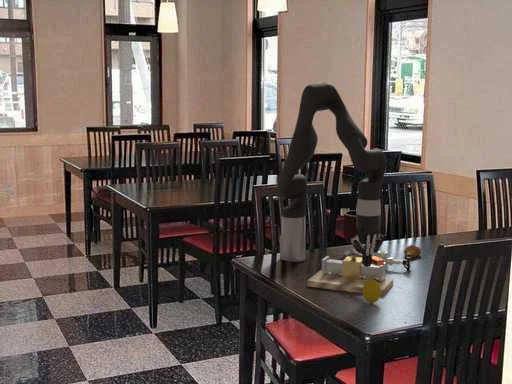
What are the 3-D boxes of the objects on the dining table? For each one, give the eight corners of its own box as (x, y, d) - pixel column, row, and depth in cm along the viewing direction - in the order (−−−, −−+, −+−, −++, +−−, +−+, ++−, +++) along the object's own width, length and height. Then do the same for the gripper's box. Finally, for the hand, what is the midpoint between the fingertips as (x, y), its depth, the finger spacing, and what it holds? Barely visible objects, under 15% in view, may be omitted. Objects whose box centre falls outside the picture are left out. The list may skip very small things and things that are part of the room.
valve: (375, 271, 229) (409, 274, 225) (375, 253, 228) (409, 256, 224) (377, 266, 235) (410, 269, 231) (378, 249, 234) (411, 251, 230)
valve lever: (348, 253, 215) (348, 248, 214) (354, 252, 216) (354, 247, 215) (376, 266, 200) (377, 260, 199) (383, 265, 201) (383, 259, 200)
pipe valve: (321, 275, 217) (321, 253, 216) (327, 271, 222) (327, 249, 221) (381, 283, 208) (382, 259, 207) (385, 278, 214) (386, 255, 212)
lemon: (360, 301, 197) (360, 276, 195) (377, 300, 197) (378, 276, 196) (364, 307, 191) (365, 282, 190) (382, 306, 192) (383, 281, 190)
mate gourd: (334, 255, 251) (335, 205, 248) (357, 249, 260) (358, 201, 257) (365, 262, 240) (366, 211, 236) (387, 256, 248) (389, 206, 245)
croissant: (418, 262, 241) (418, 249, 240) (400, 260, 244) (400, 248, 243) (423, 253, 253) (424, 241, 252) (406, 252, 256) (407, 240, 255)
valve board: (307, 286, 212) (307, 280, 212) (320, 275, 224) (320, 270, 223) (383, 296, 201) (383, 290, 201) (393, 284, 213) (393, 278, 213)
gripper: (359, 216, 192) (357, 271, 195) (392, 212, 198) (390, 266, 201) (344, 212, 199) (343, 265, 201) (377, 209, 205) (375, 260, 208)
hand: (366, 265), depth 201 cm, fingers closed
